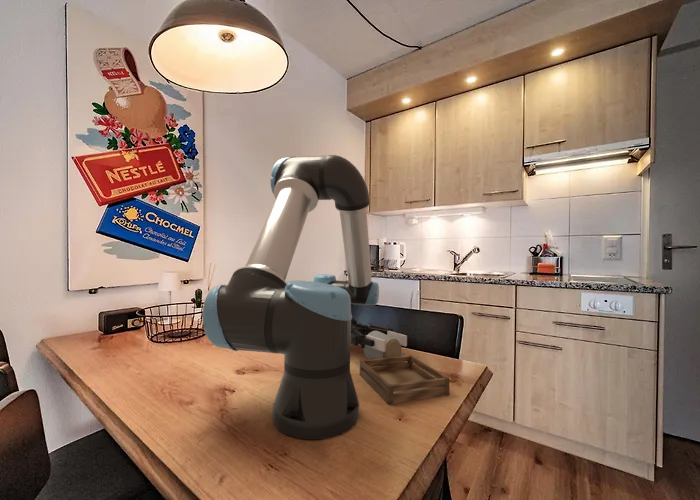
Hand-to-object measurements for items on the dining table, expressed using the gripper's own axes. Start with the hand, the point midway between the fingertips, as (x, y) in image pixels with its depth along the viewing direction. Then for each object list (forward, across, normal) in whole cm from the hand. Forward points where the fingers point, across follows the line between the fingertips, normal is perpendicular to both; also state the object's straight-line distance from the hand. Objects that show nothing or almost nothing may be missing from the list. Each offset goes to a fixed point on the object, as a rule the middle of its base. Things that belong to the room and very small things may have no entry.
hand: (395, 343), depth 80 cm
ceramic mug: (-5, -1, -6) cm, 8 cm away
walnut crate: (+8, +7, -6) cm, 12 cm away
